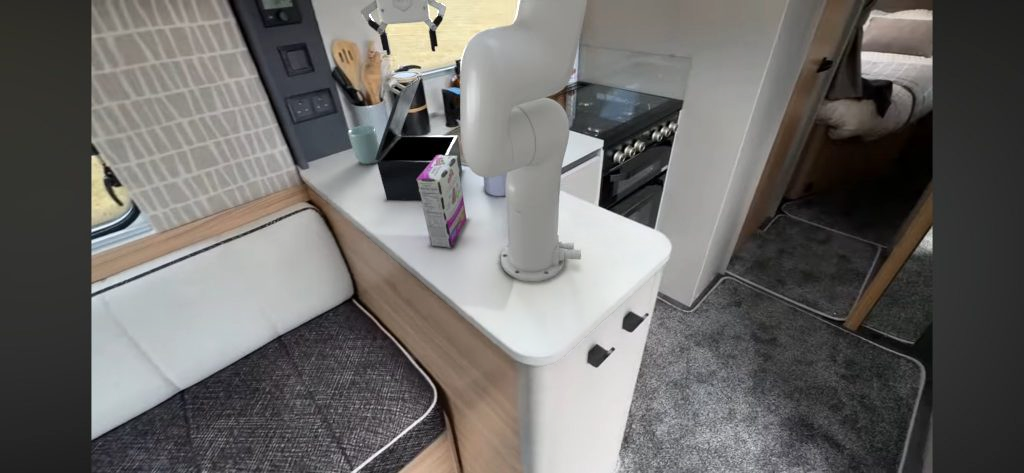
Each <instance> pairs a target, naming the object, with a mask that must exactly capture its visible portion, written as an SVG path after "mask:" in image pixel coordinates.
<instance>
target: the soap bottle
mask: <svg viewBox="0 0 1024 473" xmlns="http://www.w3.org/2000/svg"><path fill="white" fill-rule="evenodd" d="M506 177H507V173H505V174H502V175H499V176H496V177H490V178H486V177H483V186H484V190H485V192H486V193H487V194H488V195H490V196H494V197H504V196H505V197H506V189H505V185H506Z"/></svg>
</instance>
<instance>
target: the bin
mask: <svg viewBox="0 0 1024 473" xmlns="http://www.w3.org/2000/svg"><path fill="white" fill-rule="evenodd" d="M460 150H461V149H460V143H459V136H458V135H399V136H398V137H397V139H396V140H395V141H394V142H393V143H392V145H391V146H390V147H389V148H388V149H387V150H386V152H385V153H384V154H383V155H382V156H381V158H380V159H379V160H378V161H376V164H377V168H378V172H379V175H380V176H379V177H380V179H381V183H382V187H383V190H384V194H385V197H386V201H400V202H401V201H402V202H403V201H405V202H406V201H408V202H410V201H411V202H413V201H414V202H421V197H420V192H419V188H418V184H417V180H416V179H417V178H418V177H419V176H420V174H421V173H422V172H423V171H424V170H425V169H426V167H427V166H428V165H429V164H430V163H431V161H432V160H433V159H434V158H435V157H436V155H451V156H457V157H458V165H459V172H460V177H462V173H463V168H462V166H463V165H462V159H461V151H460Z"/></svg>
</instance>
